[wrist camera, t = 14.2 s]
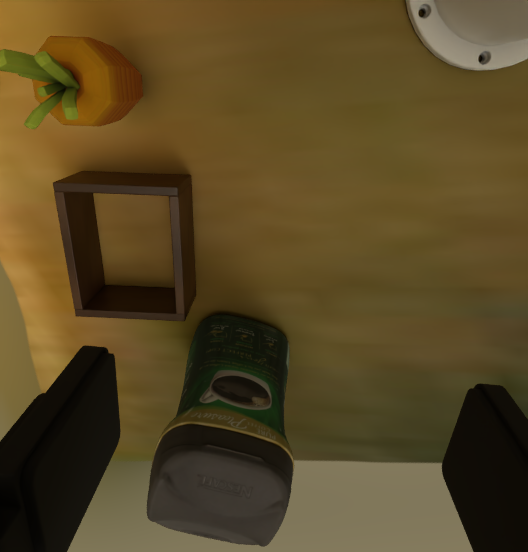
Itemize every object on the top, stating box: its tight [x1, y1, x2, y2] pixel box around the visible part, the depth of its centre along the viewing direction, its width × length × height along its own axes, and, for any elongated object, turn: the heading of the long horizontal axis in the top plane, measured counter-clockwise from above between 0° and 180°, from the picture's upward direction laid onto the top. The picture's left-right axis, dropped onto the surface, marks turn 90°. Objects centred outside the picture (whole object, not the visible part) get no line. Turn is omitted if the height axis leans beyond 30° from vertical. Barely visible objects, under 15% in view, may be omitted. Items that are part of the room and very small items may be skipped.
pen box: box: [53, 171, 196, 321], centre depth 36 cm, size 11×9×5 cm
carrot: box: [0, 36, 143, 129], centre depth 26 cm, size 5×5×15 cm
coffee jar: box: [147, 314, 294, 546], centre depth 34 cm, size 10×8×19 cm
